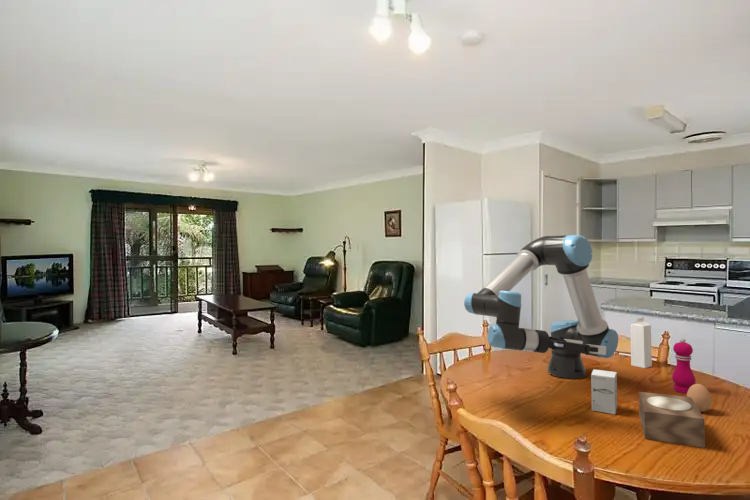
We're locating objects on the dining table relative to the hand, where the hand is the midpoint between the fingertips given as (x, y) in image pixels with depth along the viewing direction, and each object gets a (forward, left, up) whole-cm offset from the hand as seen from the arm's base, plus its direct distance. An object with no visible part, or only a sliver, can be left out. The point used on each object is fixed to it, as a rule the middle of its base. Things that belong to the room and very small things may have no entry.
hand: (593, 347), depth 146 cm
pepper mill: (+30, +32, -21) cm, 49 cm away
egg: (+31, +11, -21) cm, 39 cm away
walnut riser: (+20, -10, -21) cm, 31 cm away
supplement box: (+3, +1, -21) cm, 22 cm away
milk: (+19, +64, -21) cm, 70 cm away
